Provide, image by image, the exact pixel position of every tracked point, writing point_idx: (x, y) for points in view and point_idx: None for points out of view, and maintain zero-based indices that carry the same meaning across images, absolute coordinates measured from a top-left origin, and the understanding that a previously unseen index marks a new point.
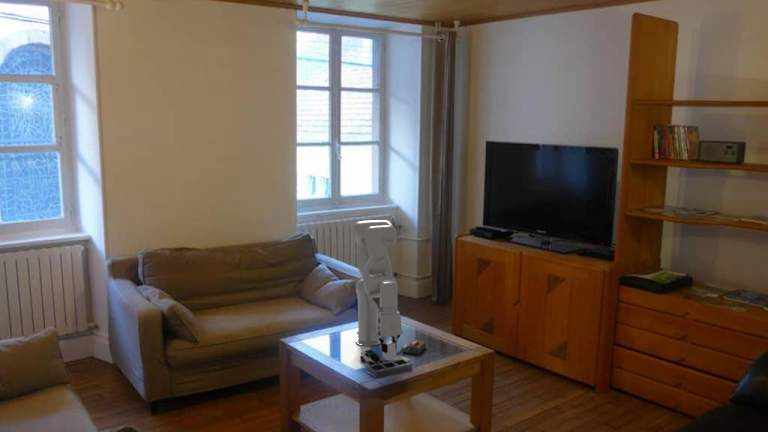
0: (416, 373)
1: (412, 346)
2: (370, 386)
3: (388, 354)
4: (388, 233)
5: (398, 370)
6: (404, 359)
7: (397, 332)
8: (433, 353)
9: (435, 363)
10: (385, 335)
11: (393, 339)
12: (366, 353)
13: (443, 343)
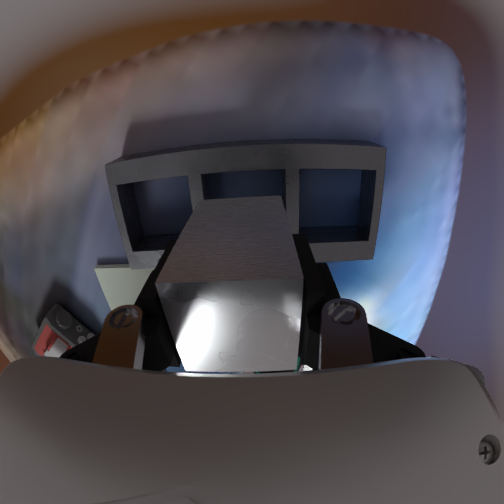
0: (125, 88)
1: (64, 341)
2: (444, 71)
3: (275, 214)
4: None
5: (209, 145)
6: (115, 283)
7: (46, 408)
8: (18, 284)
9: (18, 189)
10: (436, 398)
11: (157, 353)
12: (298, 367)
13: (4, 327)
